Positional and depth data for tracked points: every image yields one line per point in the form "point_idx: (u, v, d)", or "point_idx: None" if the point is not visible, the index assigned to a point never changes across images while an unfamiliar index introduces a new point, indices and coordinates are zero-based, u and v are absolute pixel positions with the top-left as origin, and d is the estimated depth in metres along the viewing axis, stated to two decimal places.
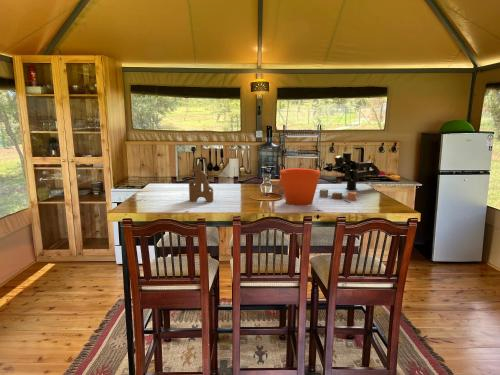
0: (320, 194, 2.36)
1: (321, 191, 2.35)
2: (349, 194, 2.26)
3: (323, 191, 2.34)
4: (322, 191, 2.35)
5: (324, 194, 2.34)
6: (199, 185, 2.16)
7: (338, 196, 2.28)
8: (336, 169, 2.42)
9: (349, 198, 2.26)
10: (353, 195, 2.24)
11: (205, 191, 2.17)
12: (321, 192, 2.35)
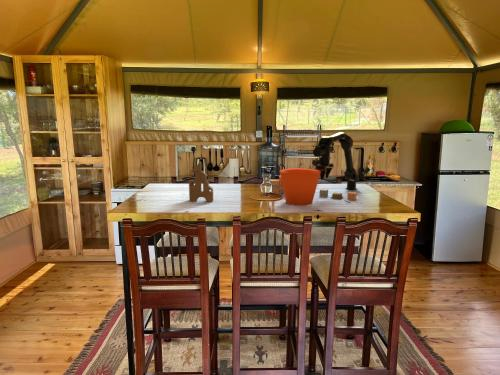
0: (320, 194, 2.36)
1: (321, 191, 2.35)
2: (349, 194, 2.26)
3: (323, 191, 2.34)
4: (322, 191, 2.35)
5: (324, 194, 2.34)
6: (199, 185, 2.16)
7: (338, 196, 2.28)
8: (321, 176, 2.30)
9: (349, 198, 2.26)
10: (353, 195, 2.24)
11: (205, 191, 2.17)
12: (321, 192, 2.35)
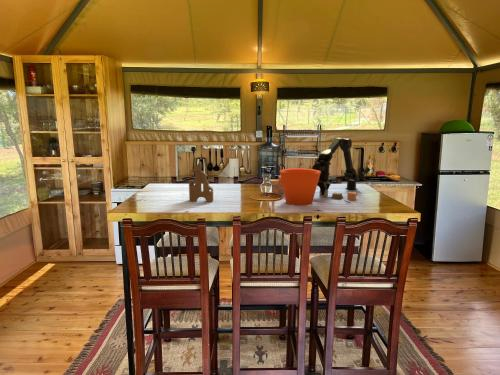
0: (320, 194, 2.36)
1: None
2: (349, 194, 2.26)
3: None
4: None
5: (324, 194, 2.34)
6: (199, 185, 2.16)
7: (338, 196, 2.28)
8: (322, 191, 2.34)
9: (349, 198, 2.26)
10: (353, 195, 2.24)
11: (205, 191, 2.17)
12: None
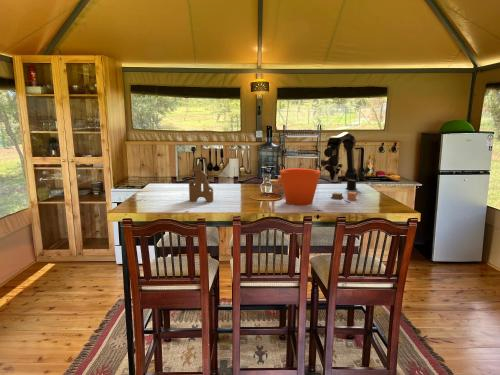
0: (329, 179, 2.30)
1: None
2: (349, 194, 2.26)
3: None
4: None
5: (334, 178, 2.29)
6: (199, 185, 2.16)
7: (338, 196, 2.28)
8: (331, 176, 2.28)
9: (349, 198, 2.26)
10: (353, 195, 2.24)
11: (205, 191, 2.17)
12: (330, 177, 2.30)
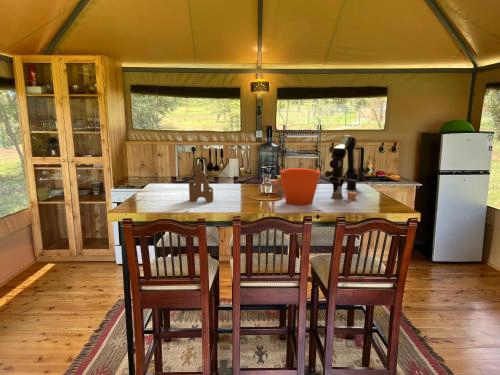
0: (334, 191, 2.30)
1: None
2: (349, 194, 2.26)
3: None
4: None
5: (338, 191, 2.28)
6: (199, 185, 2.16)
7: (338, 196, 2.28)
8: (335, 187, 2.26)
9: (349, 198, 2.26)
10: (353, 195, 2.24)
11: (205, 191, 2.17)
12: None
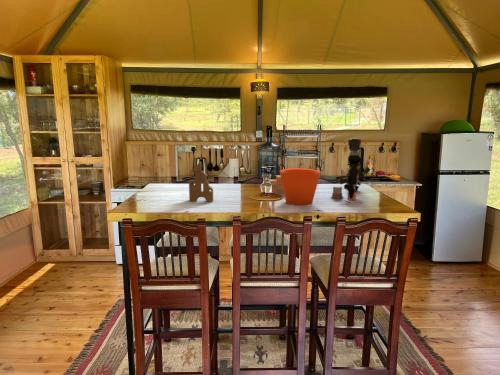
0: (334, 191, 2.30)
1: (335, 188, 2.29)
2: None
3: (337, 188, 2.28)
4: (336, 188, 2.29)
5: (338, 191, 2.28)
6: (199, 185, 2.16)
7: (338, 196, 2.28)
8: (350, 194, 2.24)
9: (349, 198, 2.26)
10: (353, 195, 2.24)
11: (205, 191, 2.17)
12: (335, 189, 2.29)
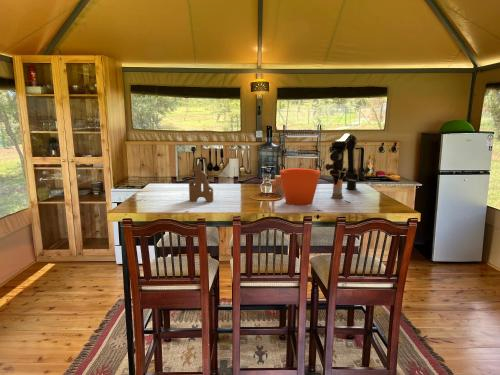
0: (334, 191, 2.30)
1: (335, 188, 2.29)
2: None
3: (337, 188, 2.28)
4: (336, 188, 2.29)
5: (338, 191, 2.28)
6: (199, 185, 2.16)
7: (338, 196, 2.28)
8: (335, 181, 2.25)
9: (335, 185, 2.29)
10: (339, 182, 2.27)
11: (205, 191, 2.17)
12: (335, 189, 2.29)
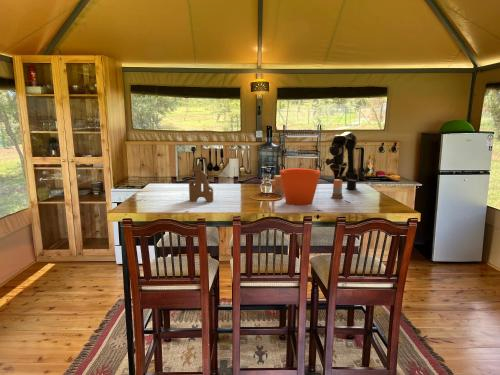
0: (334, 191, 2.30)
1: (335, 188, 2.29)
2: (335, 181, 2.28)
3: (337, 188, 2.28)
4: (336, 188, 2.29)
5: (338, 191, 2.28)
6: (199, 185, 2.16)
7: (338, 196, 2.28)
8: (335, 175, 2.24)
9: (335, 185, 2.29)
10: (339, 182, 2.27)
11: (205, 191, 2.17)
12: (335, 189, 2.29)
